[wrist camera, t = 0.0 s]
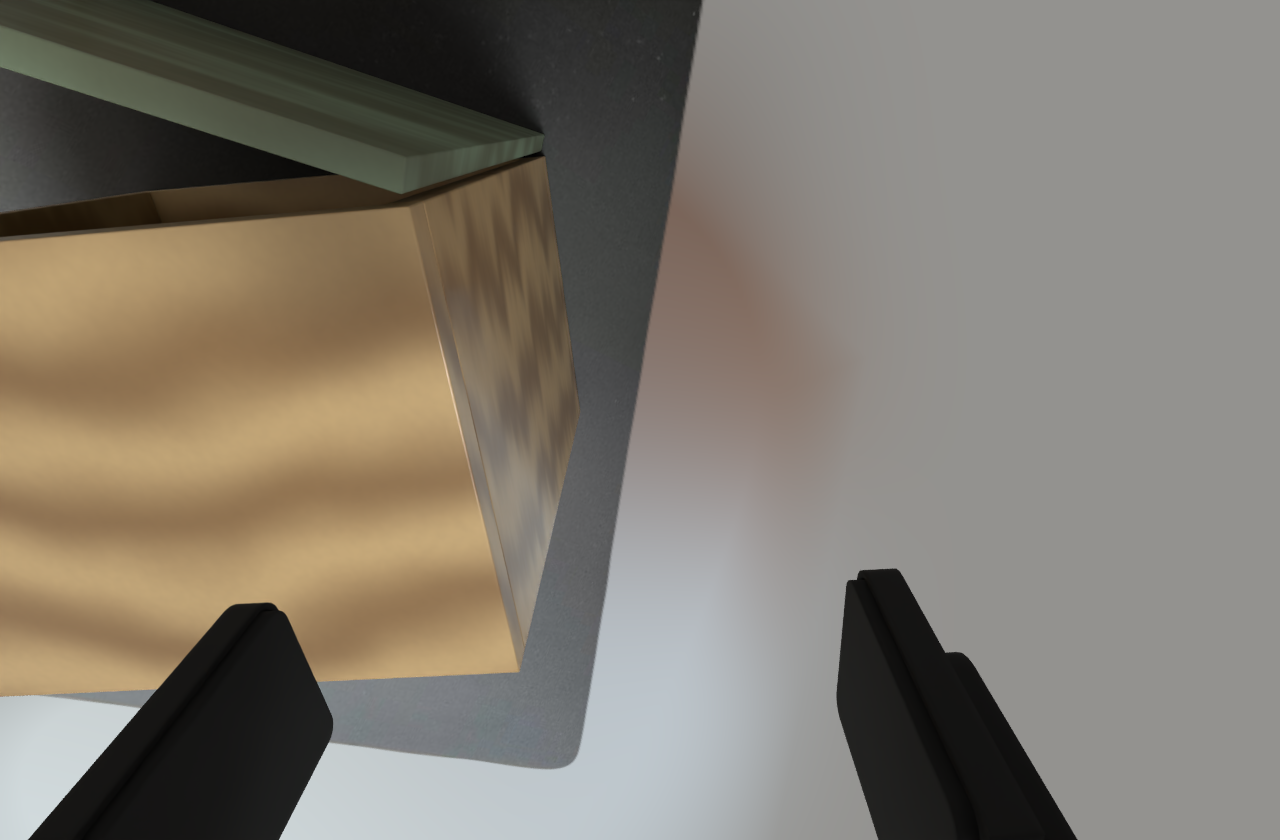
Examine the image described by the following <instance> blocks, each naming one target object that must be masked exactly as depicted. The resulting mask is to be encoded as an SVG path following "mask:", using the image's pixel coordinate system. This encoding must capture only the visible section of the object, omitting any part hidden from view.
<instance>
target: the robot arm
mask: <svg viewBox="0 0 1280 840" xmlns="http://www.w3.org/2000/svg"><path fill="white" fill-rule="evenodd" d="M844 607H845V608H844V617H843V628H842V639H841V650H840V662H839V672H838V683H837V707H838V713H839V717H840V720H841V723H842V726H843V730H844V733H845V736H846V739H847V742H848V745H849V749H850V752H851V755H852V758H853V761H854V764H855V767H856V771H857V774H858V777H859V780H860V783H861V786H862V790H863V793H864V796H865V799H866V802H867V805H868V808H869V811H870V814H871V818H872V821H873V824H874V827H875V830H876V834H877V837H878V840H1077V839H1076V837H1075V835H1074V833H1073V832H1072V830H1071V828H1070V826H1069V825H1068V823H1067V821H1066V820H1065V818H1064V816H1063V815H1062V813H1061V811H1060V810H1059V808H1058V806H1057V805H1056V803H1055V801H1054V799H1053V798H1052V796H1051V794H1050V793H1049V791H1048V789H1047V788H1046V786H1045V784H1044V783H1043V781H1042V779H1041V778H1040V776H1039V774H1038V773H1037V771H1036V769H1035V767H1034V766H1033V764H1032V763H1031V761H1030V759H1029V757H1028V756H1027V754H1026V752H1025V751H1024V749H1023V747H1022V746H1021V744H1020V742H1019V741H1018V739H1017V737H1016V735H1015V734H1014V732H1013V730H1012V729H1011V727H1010V725H1009V724H1008V722H1007V720H1006V719H1005V717H1004V715H1003V714H1002V712H1001V711H1000V709H999V707H998V705H997V703H996V702H995V700H994V699H993V697H992V695H991V694H990V692H989V690H988V689H987V687H986V685H985V683H984V682H983V680H982V678H981V677H980V675H979V673H978V671H977V670H976V668H975V667H974V665H973V664H972V662H971V661H970V660H969V658H968V657H966V656H965V655H964V654H963V653H959V652H951V653H945V652H944V650H943V648H942V646H941V644H940V643H939V641H938V639H937V637H936V635H935V634H934V632H933V630H932V628H931V626H930V625H929V623H928V621H927V619H926V617H925V616H924V614H923V612H922V610H921V609H920V607H919V605H918V603H917V601H916V599H915V597H914V596H913V594H912V592H911V590H910V588H909V587H908V585H907V583H906V581H905V579H904V578H903V576H902V575H901V573H900V571H899V570H897V569H878V570H862V571H859V573H858V577H857V580H849V581H848V582H847V586H846V596H845V606H844ZM332 731H333V718H332V715H331V713H330V710H329V708H328V706H327V704H326V701H325V699H324V697H323V695H322V693H321V690H320V688H319V686H318V684H317V681H316V679H315V677H314V675H313V673H312V670H311V668H310V666H309V664H308V662H307V659H306V657H305V655H304V653H303V650H302V648H301V646H300V644H299V642H298V639H297V637H296V635H295V633H294V630H293V628H292V626H291V624H290V622H289V619H288V617H287V615H286V614H285V613H284V612H283V611H279V610H278V608H277V607H276V605H274V604H273V603H269V602H264V603H245V604H234V605H232V606H230V607H229V608H228V609H226V610H225V611H224V612H223V613H222V615H221V616H220V617H219V618H218V619H217V620H216V622H215V623H214V624H213V625H212V626H211V627H210V629H209V630H208V631H207V632H206V633H205V634H204V636H203V637H202V638H201V639H200V640H199V641H198V643H197V644H196V645H195V646H194V647H193V648H192V650H191V651H190V652H189V653H188V654H187V655H186V657H185V658H184V659H183V660H182V661H181V662H180V664H179V665H178V666H177V667H176V668H175V669H174V670H173V672H172V673H171V674H170V675H169V676H168V677H167V679H166V680H165V681H164V682H163V683H162V684H161V686H160V687H159V688H158V689H157V690H156V691H155V693H154V694H153V695H152V696H151V697H150V698H149V700H148V701H147V702H146V703H145V704H144V705H143V707H142V708H141V709H140V710H139V711H138V712H137V714H136V715H135V716H134V717H133V718H132V719H131V721H130V722H129V723H128V724H127V725H126V726H125V728H124V729H123V730H122V731H121V732H120V733H119V734H118V736H117V737H116V738H115V739H114V740H113V741H112V743H111V744H110V745H109V746H108V747H107V749H106V750H105V751H104V752H103V753H102V754H101V755H100V757H99V758H98V759H97V760H96V761H95V762H94V764H93V765H92V766H91V767H90V769H88V771H87V772H86V773H85V774H84V775H83V776H82V778H81V779H80V780H79V781H78V782H77V783H76V785H75V786H74V787H73V788H72V789H71V790H70V792H69V793H68V794H67V795H66V796H65V798H63V800H62V801H61V802H60V803H59V804H58V806H57V807H56V808H55V809H54V810H53V811H52V812H51V814H50V815H49V816H48V817H47V818H46V819H45V821H44V822H43V823H42V824H41V825H40V827H39V828H38V829H37V830H36V831H35V832H34V833H33V835H32V836H31V837H30V838H29V839H28V840H279V838H280V836H281V834H282V832H283V831H284V829H285V827H286V825H287V823H288V821H289V819H290V817H291V815H292V813H293V811H294V809H295V807H296V805H297V803H298V801H299V799H300V797H301V795H302V793H303V791H304V790H305V787H306V786H307V784H308V782H309V780H310V778H311V776H312V774H313V772H314V770H315V768H316V766H317V764H318V762H319V760H320V758H321V756H322V754H323V752H324V750H325V748H326V746H327V745H328V743H329V740H330V738H331V735H332Z"/></svg>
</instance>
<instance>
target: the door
mask: <svg viewBox="0 0 1280 840" xmlns="http://www.w3.org/2000/svg"><path fill="white" fill-rule="evenodd" d="M0 67H2V68H5V69H8V70H11V71H14V72H17V73H20V74H24V75H27V76H30V77H33V78H36V79H39V80H42V81H46V82H49V83H52V84H55V85H58V86H61V87H64V88H68V89H71V90H74V91H77V92H80V93H83V94H87V95H90V96H93V97H96V98H99V99H102V100H105V101H109V102H112V103H115V104H118V105H121V106H124V107H127V108H131V109H134V110H137V111H140V112H143V113H146V114H149V115H153V116H156V117H159V118H162V119H165V120H168V121H171V122H175V123H178V124H181V125H184V126H187V127H190V128H194V129H197V130H200V131H203V132H206V133H209V134H212V135H216V136H219V137H222V138H225V139H228V140H231V141H234V142H238V143H241V144H244V145H247V146H250V147H253V148H256V149H260V150H263V151H266V152H269V153H272V154H275V155H279V156H282V157H285V158H288V159H291V160H294V161H297V162H301V163H304V164H307V165H310V166H313V167H316V168H319V169H323V170H326V171H329V172H332V173H335V174H338V175H341V176H345V177H348V178H351V179H354V180H357V181H360V182H363V183H367V184H370V185H373V186H376V187H379V188H382V189H386V190H389V191H392V192H395V193H398V194H403V193H407V192H410V191H413V190H416V189H420V188H423V187H426V186H429V185H433V184H436V183H439V182H442V181H445V180H449V179H452V178H455V177H458V176H462V175H465V174H468V173H471V172H475V171H478V170H481V169H484V168H488V167H491V166H494V165H497V164H500V163H504V162H507V161H510V160H513V159H517V158H520V157H523V156H526V155H530V154H533V153H536V152H539V151H541V149H542V145H543V140H544V134H541V133H538V132H535V131H532V130H530V129H527V128H524V127H521V126H518V125H515V124H512V123H509V122H506V121H503V120H500V119H497V118H494V117H491V116H488V115H485V114H482V113H479V112H477V111H474V110H471V109H468V108H465V107H462V106H459V105H456V104H453V103H450V102H447V101H444V100H441V99H438V98H435V97H432V96H429V95H426V94H423V93H421V92H418V91H415V90H412V89H409V88H406V87H403V86H400V85H397V84H394V83H391V82H388V81H385V80H382V79H379V78H376V77H373V76H370V75H368V74H365V73H362V72H359V71H356V70H353V69H350V68H347V67H344V66H341V65H338V64H335V63H332V62H329V61H326V60H323V59H320V58H317V57H315V56H312V55H309V54H306V53H303V52H300V51H297V50H294V49H291V48H288V47H285V46H282V45H279V44H276V43H273V42H270V41H267V40H264V39H261V38H259V37H256V36H253V35H250V34H247V33H244V32H241V31H238V30H235V29H232V28H229V27H226V26H223V25H220V24H217V23H214V22H211V21H208V20H206V19H203V18H200V17H197V16H194V15H191V14H188V13H185V12H182V11H179V10H176V9H173V8H170V7H167V6H164V5H161V4H158V3H155V2H153V1H150V0H0Z"/></svg>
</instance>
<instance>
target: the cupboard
mask: <svg viewBox="0 0 1280 840" xmlns="http://www.w3.org/2000/svg"><path fill="white" fill-rule="evenodd" d="M579 414H580V406H579V399H578V391H577V384H576V377H575V370H574V362H573V355H572V348H571V341H570V333H569V326H568V319H567V312H566V304H565V297H564V290H563V283H562V275H561V268H560V261H559V254H558V246H557V239H556V232H555V225H554V217H553V210H552V203H551V196H550V188H549V181H548V174H547V167H546V159H545V156H539V157H528V158H517V159H513V160H510V161H507V162H504V163H500V164H497V165H494V166H491V167H488V168H484V169H481V170H478V171H475V172H471V173H468V174H465V175H462V176H458V177H455V178H452V179H449V180H445V181H442V182H439V183H436V184H433V185H429V186H426V187H423V188H420V189H416V190H413V191H410V192H407V193H403V194H398V193H395V192H392V191H389V190H386V189H382V188H379V187H376V186H373V185H370V184H367V183H363V182H360V181H357V180H354V179H351V178H348V177H345V176H341V175H338V174H334V175H323V176H311V177H300V178H289V179H277V180H266V181H254V182H243V183H231V184H220V185H209V186H197V187H186V188H174V189H163V190H152V191H142V192H136V193H129V194H122V195H115V196H108V197H101V198H95V199H88V200H81V201H74V202H67V203H60V204H53V205H47V206H40V207H33V208H26V209H19V210H12V211H5V212H0V697H3V696H24V695H46V694H67V693H88V692H109V691H130V690H151V689H158V688H159V687H160V686H161V684H162V683H163V682H164V681H165V680H166V679H167V677H168V676H169V675H170V674H171V673H172V672H173V670H174V669H175V668H176V667H177V666H178V665H179V664H180V662H181V661H182V660H183V659H184V658H185V657H186V655H187V654H188V653H189V652H190V651H191V650H192V648H193V647H194V646H195V645H196V644H197V643H198V641H199V640H200V639H201V638H202V637H203V636H204V634H205V633H206V632H207V631H208V630H209V629H210V627H211V626H212V625H213V624H214V623H215V622H216V620H217V619H218V618H219V617H220V616H221V615H222V613H223V612H224V611H225V610H226V609H228V608H229V607H230V606H232V605H234V604H245V603H264V602H269V603H273V604H274V605H276V607H277V608H278V610H279V611H283V612H284V613H285V614H286V615H287V617H288V619H289V622H290V624H291V626H292V628H293V630H294V633H295V635H296V637H297V639H298V642H299V644H300V646H301V648H302V650H303V653H304V655H305V657H306V659H307V662H308V664H309V666H310V668H311V670H312V673H313V675H314V677H315V679H316V681H317V682H321V681H342V680H363V679H384V678H406V677H427V676H448V675H469V674H490V673H512V672H519V671H520V667H521V663H522V659H523V654H524V648H525V645H526V641H527V637H528V633H529V628H530V624H531V620H532V615H533V611H534V607H535V603H536V598H537V594H538V590H539V585H540V581H541V577H542V573H543V568H544V564H545V560H546V555H547V551H548V547H549V543H550V538H551V534H552V530H553V525H554V521H555V517H556V513H557V508H558V504H559V500H560V496H561V491H562V487H563V483H564V478H565V474H566V470H567V466H568V461H569V457H570V453H571V448H572V444H573V440H574V436H575V431H576V427H577V423H578V418H579Z"/></svg>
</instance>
